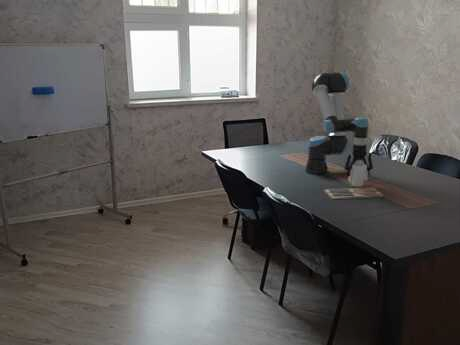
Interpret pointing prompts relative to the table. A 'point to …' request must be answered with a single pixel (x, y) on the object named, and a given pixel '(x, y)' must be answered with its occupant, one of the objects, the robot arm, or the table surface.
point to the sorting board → (353, 193)
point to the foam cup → (358, 173)
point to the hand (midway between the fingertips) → (357, 180)
